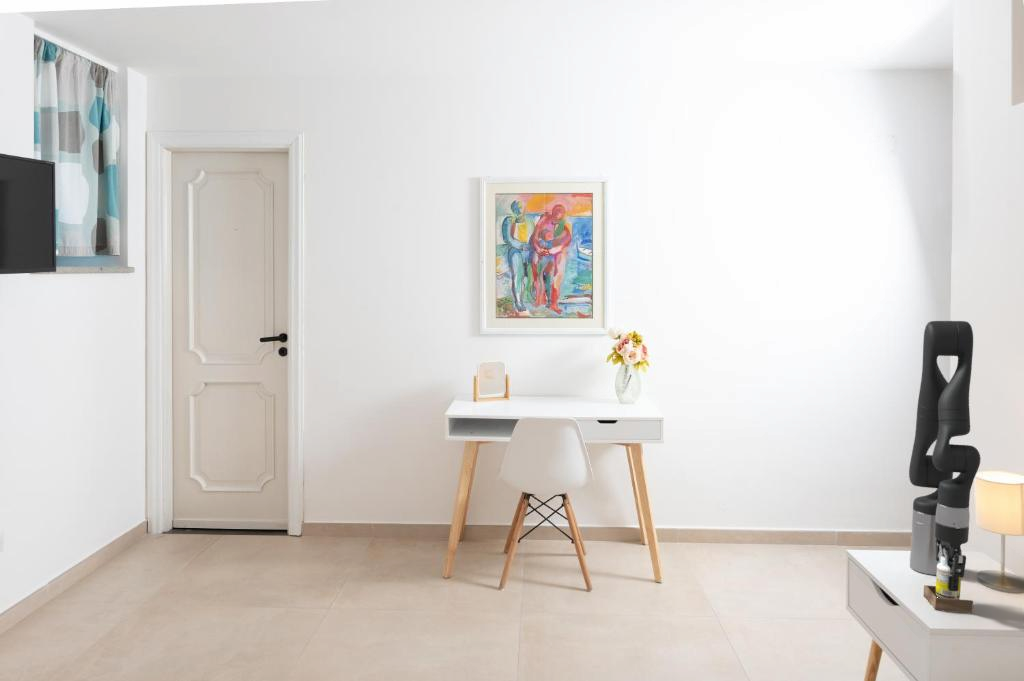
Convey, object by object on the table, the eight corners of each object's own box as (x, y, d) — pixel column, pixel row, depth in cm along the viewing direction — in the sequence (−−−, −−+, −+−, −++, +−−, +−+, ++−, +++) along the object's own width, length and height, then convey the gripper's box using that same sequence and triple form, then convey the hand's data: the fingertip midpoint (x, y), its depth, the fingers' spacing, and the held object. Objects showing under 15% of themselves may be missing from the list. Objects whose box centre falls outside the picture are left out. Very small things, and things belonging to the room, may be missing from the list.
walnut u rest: (923, 596, 207) (924, 585, 207) (958, 598, 206) (959, 587, 206) (935, 610, 199) (936, 598, 199) (972, 612, 197) (972, 601, 197)
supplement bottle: (950, 592, 205) (952, 554, 204) (964, 601, 200) (967, 562, 199) (930, 592, 205) (932, 554, 204) (944, 601, 199) (946, 562, 198)
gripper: (926, 512, 208) (922, 574, 210) (946, 529, 194) (942, 596, 196) (957, 514, 207) (953, 576, 208) (979, 531, 193) (975, 598, 194)
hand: (948, 585), depth 202 cm, fingers closed on supplement bottle, 5 cm apart
